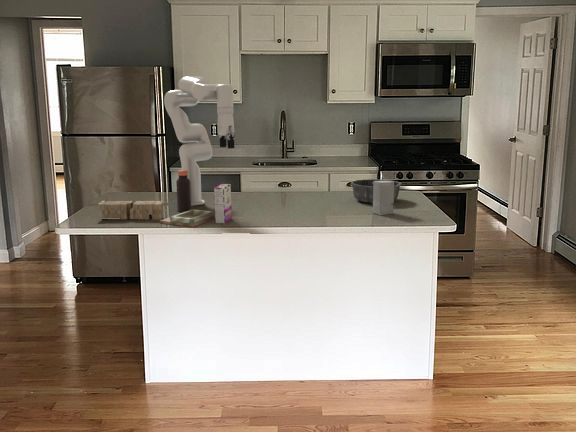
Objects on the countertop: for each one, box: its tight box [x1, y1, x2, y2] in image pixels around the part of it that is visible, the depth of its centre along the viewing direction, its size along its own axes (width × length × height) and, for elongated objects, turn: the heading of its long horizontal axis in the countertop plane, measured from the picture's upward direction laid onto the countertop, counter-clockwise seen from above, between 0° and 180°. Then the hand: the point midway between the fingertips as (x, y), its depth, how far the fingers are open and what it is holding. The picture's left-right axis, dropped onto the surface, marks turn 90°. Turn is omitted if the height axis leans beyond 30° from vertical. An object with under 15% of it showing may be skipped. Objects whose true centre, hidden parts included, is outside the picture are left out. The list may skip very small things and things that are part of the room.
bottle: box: [175, 169, 192, 213], centre depth 309 cm, size 7×7×20 cm
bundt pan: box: [350, 178, 402, 204], centre depth 332 cm, size 26×26×10 cm
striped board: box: [159, 208, 215, 228], centre depth 289 cm, size 18×20×3 cm
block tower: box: [97, 200, 164, 220], centre depth 294 cm, size 8×8×29 cm
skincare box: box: [372, 180, 395, 216], centre depth 301 cm, size 8×7×16 cm
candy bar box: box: [213, 183, 233, 225], centre depth 286 cm, size 11×5×16 cm, turn 168°
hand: (227, 147), depth 295 cm, fingers open, 9 cm apart
